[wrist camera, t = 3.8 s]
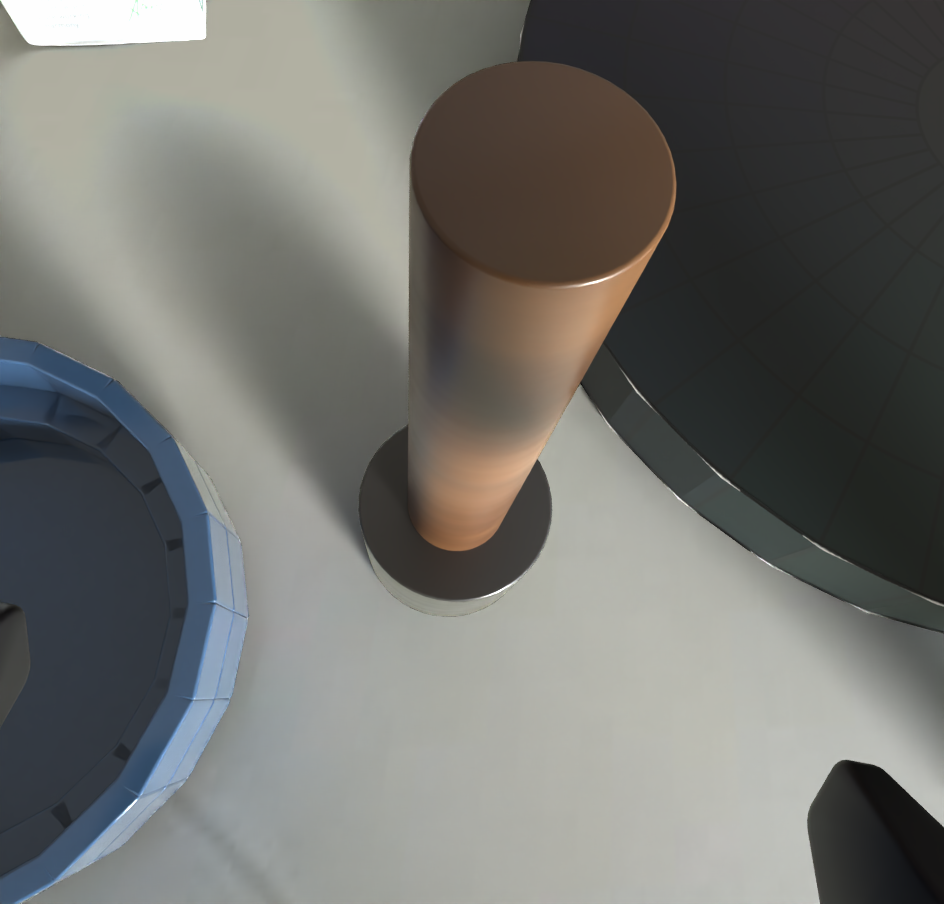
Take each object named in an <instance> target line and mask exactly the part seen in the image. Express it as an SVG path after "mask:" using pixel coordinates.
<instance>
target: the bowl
mask: <svg viewBox="0 0 944 904" xmlns="http://www.w3.org/2000/svg"><path fill="white" fill-rule="evenodd" d="M0 602H3V603H9V604H14V605H17V606H19V607H21V609H22V610H23V611H24V613H25V617H26V625H27V634H28V643H29V651H30V671H29V675H28V678H27V681H26V683H25V685H24V687H23V689H22V691H21V692H20V694H19V696H18V698H17V699H16V701H15V703H14V705H13V707H12V708H11V710H10V712H9V714H8V715H7V717H6V719H5V721H4V722H3V724H2V726H1V728H0V904H22V903H23V902H25V901H27V900H29V899H31V898H32V897H34V896H36V895H38V894H40V893H41V892H43V891H45V890H47V889H48V888H50V887H52V886H54V885H55V884H57V883H59V882H61V881H63V880H64V879H66V878H68V877H70V876H71V875H73V874H75V873H77V872H78V871H80V870H82V869H84V868H85V867H87V866H89V865H91V864H93V863H94V862H96V861H98V860H100V859H101V858H103V857H105V856H107V855H108V854H110V853H112V852H114V851H115V850H117V849H118V848H119V847H121V846H123V845H124V844H125V843H126V842H127V841H128V840H129V839H130V838H131V837H132V836H133V834H134V833H135V832H136V831H137V830H138V829H139V828H140V827H141V826H142V825H143V824H144V823H145V822H146V821H147V820H148V819H149V818H150V817H151V816H152V815H153V814H154V813H155V812H156V811H157V810H158V809H159V808H160V807H161V806H162V805H163V804H164V803H165V802H166V801H167V800H168V799H169V798H170V797H171V796H172V795H173V794H174V793H175V792H176V791H177V790H178V789H179V788H180V787H181V786H182V785H183V784H184V783H185V782H186V780H187V778H188V777H189V776H190V774H191V772H192V771H193V769H194V767H195V765H196V763H197V761H198V760H199V758H200V756H201V754H202V752H203V751H204V749H205V747H206V745H207V743H208V741H209V740H210V738H211V736H212V734H213V732H214V730H215V729H216V727H217V725H218V723H219V721H220V719H221V718H222V716H223V714H224V712H225V710H226V708H227V707H228V705H229V703H230V699H229V698H231V696H232V694H233V689H234V685H235V680H236V675H237V671H238V666H239V661H240V656H241V652H242V647H243V642H244V638H245V633H246V628H247V624H248V619H247V618H248V617H249V612H248V602H247V593H246V583H245V574H244V564H243V554H242V545H241V542H240V538H239V536H238V534H237V532H236V530H235V528H234V526H233V524H232V521H231V519H230V517H229V515H228V513H227V511H226V509H225V507H224V504H223V502H222V500H221V498H220V496H219V494H218V492H217V490H216V487H215V485H214V483H213V481H212V479H211V478H210V477H209V475H208V474H207V473H206V471H205V470H204V469H203V468H202V467H201V466H200V465H199V464H198V463H197V462H196V461H195V459H194V458H193V457H192V456H191V455H190V454H189V453H188V452H187V451H186V450H185V449H184V447H183V446H182V445H181V444H180V443H179V442H178V441H177V440H176V439H175V438H174V437H173V435H172V434H171V433H170V432H169V431H168V430H167V429H166V428H165V427H164V426H163V425H162V424H161V423H160V422H159V421H158V420H157V419H156V418H155V417H154V416H153V415H152V414H151V413H150V412H149V411H148V410H147V409H146V408H145V407H144V406H143V405H142V404H141V403H140V402H139V401H138V400H137V399H136V398H135V397H134V396H133V395H132V394H131V393H130V392H129V391H128V390H127V389H126V388H125V387H124V386H123V385H122V384H121V383H120V382H119V381H117V380H115V379H114V378H113V377H111V376H109V375H107V374H105V373H103V372H101V371H99V370H97V369H95V368H92V367H90V366H88V365H86V364H84V363H82V362H80V361H78V360H76V359H74V358H72V357H70V356H68V355H65V354H63V353H61V352H59V351H57V350H55V349H53V348H51V347H49V346H47V345H45V344H41V343H38V342H35V341H28V340H21V339H14V338H8V337H1V336H0Z"/></svg>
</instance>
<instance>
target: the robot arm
mask: <svg viewBox="0 0 944 904" xmlns="http://www.w3.org/2000/svg"><path fill="white" fill-rule="evenodd" d="M29 671H30V651H29V643H28V634H27V625H26V617H25V613H24V611H23V610H22V609H21V607H19V606H17V605H14V604H9V603H3V602H0V728H1V726H2V724H3V722H4V721H5V719H6V717H7V715H8V714H9V712H10V710H11V708H12V707H13V705H14V703H15V701H16V699H17V698H18V696H19V694H20V692H21V691H22V689H23V687H24V685H25V683H26V681H27V678H28V675H29ZM807 823H808V834H809V840H810V846H811V852H812V858H813V864H814V870H815V876H816V882H817V887H818V893H819V899H820V904H944V827H943V826H942V825H941V824H940V823H939V822H938V821H937V820H935V819H934V818H933V817H932V816H931V815H930V814H929V813H928V812H927V811H926V810H925V809H924V808H923V807H922V806H921V805H920V804H919V803H918V802H917V801H916V800H915V799H914V798H913V797H911V796H910V795H909V794H908V793H907V792H906V791H905V790H904V789H903V788H902V787H901V786H900V785H899V784H898V783H897V782H896V781H895V780H894V779H893V778H892V777H891V776H890V775H889V774H887V773H886V772H885V771H884V770H883V769H881V768H880V767H877V766H875V765H871V764H866V763H860V762H855V761H850V760H842V761H840V762H838V763H837V764H835V766H834V767H833V768H832V770H831V772H830V773H829V775H828V777H827V779H826V780H825V782H824V784H823V785H822V787H821V789H820V791H819V792H818V794H817V796H816V797H815V799H814V801H813V802H812V804H811V806H810V809H809V813H808V820H807Z"/></svg>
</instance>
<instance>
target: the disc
mask: <svg viewBox="0 0 944 904" xmlns="http://www.w3.org/2000/svg"><path fill="white" fill-rule="evenodd" d="M520 61H543V62H552V63H559V64H565V65H568V66H572V67H576V68H580V69H582V70H585V71H588V72H590V73H593V74H596V75H598V76H600V77H602V78H604V79H606V80H608V81H610V82H611V83H613V84H614V85H616V86H617V87H619V88H621V89H622V90H624V91H625V92H626V93H627V94H629V95H630V96H631V97H632V98H634V99H635V100H636V101H637V102H638V103H639V104H640V105H641V106H642V107H643V108H644V109H645V110H646V111H647V112H648V113H649V115H650V116H651V117H652V119H653V120H654V121H655V123H656V124H657V125H658V127H659V129H660V130H661V132H662V134H663V136H664V137H665V140H666V142H667V144H668V147H669V149H670V151H671V155H672V159H673V162H674V167H675V176H676V200H675V205H674V210H673V214H672V217H671V219H670V222H669V225H668V227H667V229H666V231H665V233H664V234H663V236H662V238H661V240H660V242H659V243H658V245H657V247H656V249H655V250H654V252H653V254H652V256H651V258H650V259H649V261H648V263H647V265H646V266H645V268H644V270H643V272H642V274H641V275H640V277H639V279H638V281H637V282H636V284H635V286H634V288H633V290H632V291H631V293H630V295H629V297H628V298H627V300H626V302H625V304H624V306H623V307H622V309H621V311H620V313H619V314H618V316H617V318H616V320H615V322H614V323H613V325H612V327H611V329H610V330H609V332H608V334H607V336H606V338H605V339H604V341H603V343H602V345H601V346H600V348H599V350H598V352H597V354H596V355H595V357H594V359H593V361H592V362H591V364H590V366H589V368H588V370H587V371H586V373H585V375H584V377H583V379H582V380H581V382H580V383H581V385H582V386H583V388H584V389H585V391H586V393H587V394H588V396H589V397H590V399H591V400H592V402H593V403H594V405H595V406H596V408H597V409H598V411H599V412H600V414H601V415H602V417H603V418H604V420H605V422H606V423H607V425H608V426H609V427H610V428H611V429H612V430H613V431H614V432H615V433H616V434H617V435H618V436H619V437H620V438H621V439H622V441H623V442H624V443H625V444H626V445H627V446H628V447H629V448H630V449H631V450H632V451H633V452H634V453H635V454H636V455H637V456H638V457H639V458H640V459H641V460H642V461H643V462H644V463H645V465H646V466H647V467H648V468H649V469H650V470H651V471H652V472H653V473H654V474H655V475H656V476H657V477H658V478H659V479H660V480H661V481H662V482H663V483H664V484H665V485H666V486H667V488H668V489H669V490H670V491H671V492H672V493H673V494H674V495H675V496H676V497H677V498H678V499H679V500H680V501H681V502H683V503H684V504H685V505H687V506H688V507H689V508H691V509H692V510H694V511H695V512H696V513H698V514H699V515H700V516H702V517H703V518H704V519H706V520H707V521H709V522H710V523H711V524H713V525H714V526H715V527H717V528H718V529H720V530H721V531H722V532H724V533H725V534H726V535H728V536H729V537H731V538H732V539H733V540H735V541H736V542H737V543H739V544H740V545H742V546H743V547H744V548H746V549H747V550H748V551H750V552H751V553H753V554H754V555H755V556H757V557H758V558H759V559H761V560H762V561H763V562H765V563H766V564H768V565H770V566H772V567H774V568H776V569H778V570H780V571H782V572H784V573H786V574H788V575H790V576H792V577H794V578H796V579H798V580H800V581H803V582H805V583H807V584H809V585H811V586H813V587H815V588H817V589H819V590H821V591H823V592H825V593H827V594H829V595H831V596H833V597H835V598H838V599H840V600H842V601H844V602H846V603H848V604H850V605H852V606H854V607H856V608H858V609H860V610H862V611H864V612H866V613H870V614H874V615H877V616H881V617H885V618H888V619H892V620H896V621H899V622H903V623H907V624H910V625H914V626H918V627H921V628H925V629H929V630H932V631H936V632H939V633H943V634H944V0H531V1H530V5H529V8H528V11H527V14H526V18H525V21H524V24H523V28H522V31H521V34H520V49H519V55H518V61H517V62H520Z"/></svg>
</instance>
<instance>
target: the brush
mask: <svg viewBox="0 0 944 904" xmlns="http://www.w3.org/2000/svg"><path fill="white" fill-rule="evenodd" d="M675 200H676V176H675V167H674V162H673V159H672V155H671V151H670V149H669V147H668V144H667V142H666V140H665V137H664V136H663V134H662V132H661V130H660V129H659V127H658V125H657V124H656V123H655V121H654V120H653V119H652V117H651V116H650V115H649V113H648V112H647V111H646V110H645V109H644V108H643V107H642V106H641V105H640V104H639V103H638V102H637V101H636V100H635V99H634V98H632V97H631V96H630V95H629V94H627V93H626V92H625V91H624V90H622V89H621V88H619V87H617V86H616V85H614V84H613V83H611V82H610V81H608V80H606V79H604V78H602V77H600V76H598V75H596V74H593V73H590V72H588V71H585V70H582V69H580V68H576V67H572V66H568V65H565V64H559V63H552V62H543V61H520V62H510V63H504V64H499V65H495V66H492V67H488V68H485V69H482V70H480V71H477V72H475V73H472V74H470V75H468V76H466V77H465V78H463V79H461V80H459V81H458V82H456V83H455V84H453V85H452V86H451V87H450V88H448V89H447V90H446V91H444V92H443V93H442V94H441V95H440V96H439V97H438V98H437V99H436V100H435V102H434V103H433V104H432V105H431V107H430V108H429V110H428V111H427V112H426V114H425V115H424V116H423V118H422V120H421V122H420V124H419V126H418V128H417V130H416V133H415V136H414V139H413V142H412V147H411V153H410V187H409V363H408V425H406V426H404V427H403V428H401V429H400V430H398V431H397V432H396V433H394V434H393V435H392V436H391V437H390V438H388V439H387V440H386V441H385V442H384V443H383V444H382V446H381V447H380V448H379V449H378V450H377V452H376V453H375V455H374V456H373V458H372V459H371V461H370V462H369V465H368V467H367V469H366V471H365V473H364V476H363V480H362V483H361V487H360V493H359V508H358V511H359V520H360V525H361V529H362V533H363V537H364V541H365V544H366V548H367V551H368V555H369V559H370V562H371V564H372V567H373V569H374V571H375V573H376V575H377V576H378V578H379V580H380V581H381V583H382V584H383V585H384V587H385V588H386V589H387V590H388V591H389V592H390V593H391V594H392V595H393V596H394V597H395V598H397V599H398V600H399V601H401V602H402V603H403V604H405V605H407V606H409V607H410V608H412V609H415V610H417V611H420V612H422V613H426V614H430V615H435V616H443V617H454V616H462V615H467V614H471V613H474V612H477V611H479V610H482V609H484V608H486V607H488V606H489V605H491V604H493V603H494V602H496V601H497V600H498V599H500V598H501V597H502V596H503V595H504V594H505V593H506V592H507V591H508V590H509V589H510V588H511V587H512V586H513V585H514V584H516V583H517V582H518V581H519V580H520V579H521V578H522V577H523V576H524V574H525V573H526V572H527V571H528V570H529V569H530V568H531V567H532V566H533V564H534V563H535V561H536V560H537V558H538V557H539V555H540V553H541V551H542V549H543V548H544V545H545V543H546V540H547V537H548V534H549V530H550V525H551V518H552V498H551V493H550V487H549V484H548V481H547V477H546V474H545V472H544V470H543V468H542V466H541V464H540V462H539V461H538V457H539V455H540V453H541V451H542V450H543V448H544V446H545V444H546V443H547V441H548V439H549V437H550V435H551V434H552V432H553V430H554V428H555V427H556V425H557V423H558V421H559V419H560V418H561V416H562V414H563V412H564V411H565V409H566V407H567V405H568V403H569V402H570V400H571V398H572V396H573V395H574V393H575V391H576V389H577V387H578V386H579V384H580V382H581V380H582V379H583V377H584V375H585V373H586V371H587V370H588V368H589V366H590V364H591V362H592V361H593V359H594V357H595V355H596V354H597V352H598V350H599V348H600V346H601V345H602V343H603V341H604V339H605V338H606V336H607V334H608V332H609V330H610V329H611V327H612V325H613V323H614V322H615V320H616V318H617V316H618V314H619V313H620V311H621V309H622V307H623V306H624V304H625V302H626V300H627V298H628V297H629V295H630V293H631V291H632V290H633V288H634V286H635V284H636V282H637V281H638V279H639V277H640V275H641V274H642V272H643V270H644V268H645V266H646V265H647V263H648V261H649V259H650V258H651V256H652V254H653V252H654V250H655V249H656V247H657V245H658V243H659V242H660V240H661V238H662V236H663V234H664V233H665V231H666V229H667V227H668V225H669V222H670V219H671V217H672V214H673V210H674V205H675Z"/></svg>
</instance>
